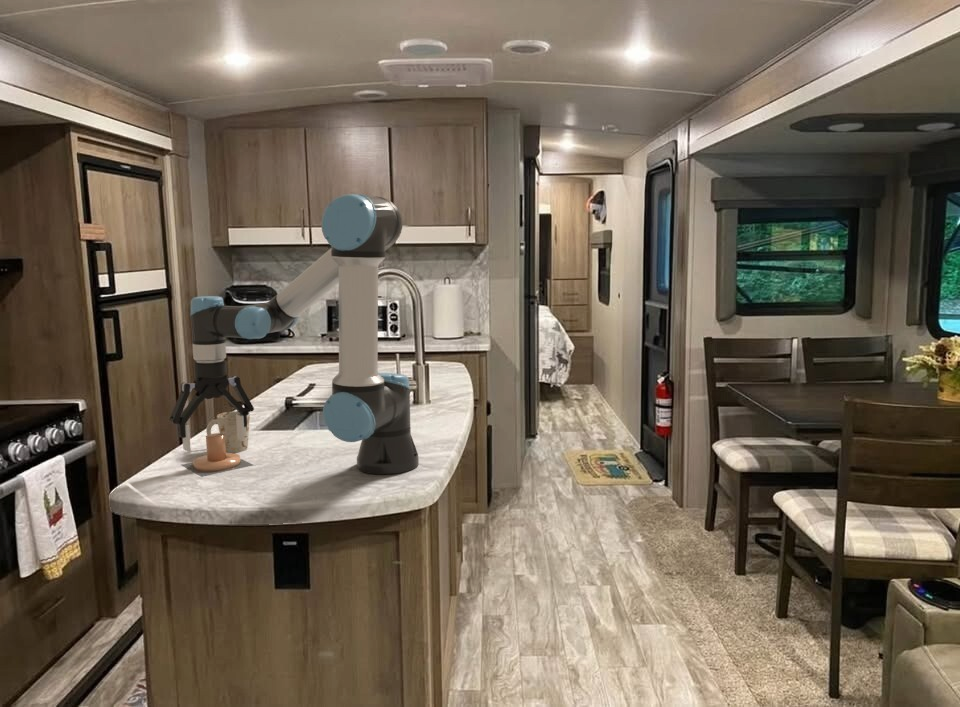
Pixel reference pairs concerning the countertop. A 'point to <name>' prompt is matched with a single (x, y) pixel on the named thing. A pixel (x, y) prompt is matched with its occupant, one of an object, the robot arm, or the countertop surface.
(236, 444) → the mug
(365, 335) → the robot arm
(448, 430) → the countertop surface
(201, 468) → the lid
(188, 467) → the mat
